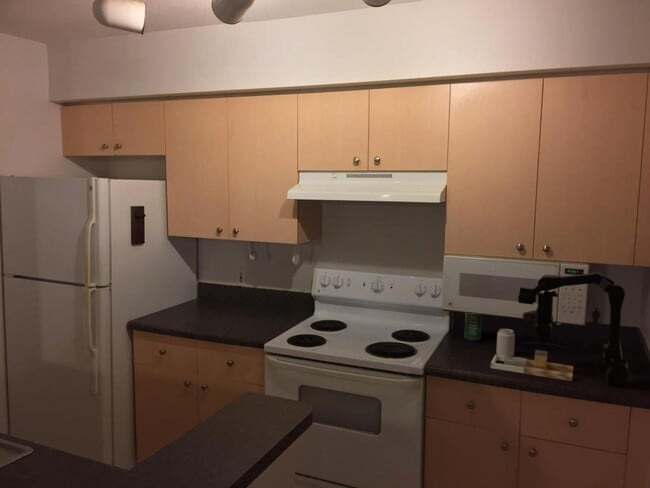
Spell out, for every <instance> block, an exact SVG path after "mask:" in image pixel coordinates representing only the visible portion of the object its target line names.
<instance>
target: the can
mask: <svg viewBox="0 0 650 488" xmlns="http://www.w3.org/2000/svg"><path fill="white" fill-rule="evenodd" d="M515 341H516V334H515V333H514V330H513V329H509V328H499V329H498V331H497V334H496V353H495V354H496V355H502V356H511V357H514V356H515Z"/></svg>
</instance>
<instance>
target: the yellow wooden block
mask: <svg viewBox="0 0 650 488" xmlns="http://www.w3.org/2000/svg"><path fill="white" fill-rule="evenodd" d="M534 360H535V361H534V368H538V369H544V370H546V367H547V362H548V351H546V350H540V349H535V351H534Z"/></svg>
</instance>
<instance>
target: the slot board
mask: <svg viewBox="0 0 650 488" xmlns="http://www.w3.org/2000/svg"><path fill="white" fill-rule="evenodd" d="M526 359H527V360H526V364H525V366H524V372H523V373H522V374H525V375H526V374H527V375H533V376H538V377H545V378H551V379H557V380H564V381H570V382H572V381H573V377H574V376H573V375H574V374H573V372H574V366H573V365H567V364H561V363H554V362H548V361H547V367H546V370H544V369H538V368H534V361H535V359H534V360H533V359H528V358H526Z"/></svg>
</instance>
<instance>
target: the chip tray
mask: <svg viewBox="0 0 650 488" xmlns="http://www.w3.org/2000/svg"><path fill="white" fill-rule="evenodd" d="M504 358H505V356H502V355H498V354H497V353H495V354H494V357H493V358H492V360H491V362H490V369H495V370H502V371H508V372H514V373H520V374H524V373H523V372H524V368H523V367H517V366H511V365H504V363H499V362H498V363H497V361H500V362H501V361H502V362H504ZM527 359H528V358H526V360H527ZM525 365H526V361H525Z"/></svg>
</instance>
